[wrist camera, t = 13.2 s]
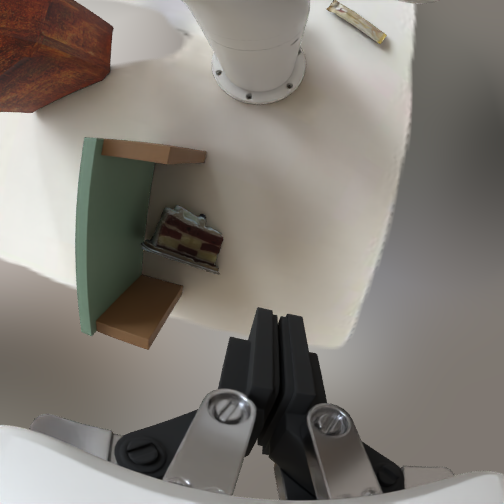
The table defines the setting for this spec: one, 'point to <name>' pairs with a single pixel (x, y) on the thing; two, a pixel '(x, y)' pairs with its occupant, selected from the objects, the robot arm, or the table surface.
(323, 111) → the table surface
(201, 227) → the chocolate cake
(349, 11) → the snack bar
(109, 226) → the cubby shelf
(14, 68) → the handbag
